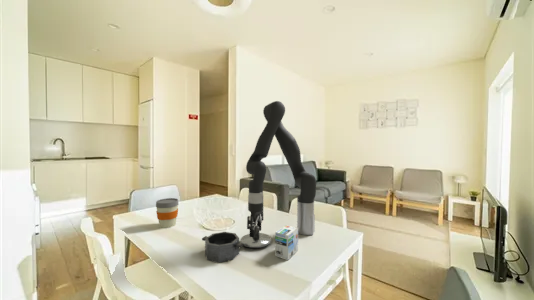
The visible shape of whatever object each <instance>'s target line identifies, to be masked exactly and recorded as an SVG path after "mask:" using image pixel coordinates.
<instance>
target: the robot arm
mask: <svg viewBox="0 0 534 300" xmlns="http://www.w3.org/2000/svg"><path fill="white" fill-rule="evenodd" d="M262 111H263V116H264V119H265V121H266V122H267V123H266V125H265V126H264V129H263V130H262V132H261V133H260V135H259V137H258V139H257V141H256V144H255V148H254V150H253V152H252V154H251V155H250V157H249V159H248V160H247V162H246V165H245V166H246V167H245V168H246V172H247V173H248V174H249V175H252V176H253V179H251V180H249V182H248V196H247V198H248V199H247V201H248V203H247V205H248V206H247V209H248V210H247V211H248V212H250V215H248V216H247V218H246V220H247V221H246V230H249V234H250V237H254V228H255V225H257V226H259V232H261V230H262V223H263V221H264V182H265V177H266V174H267V166H266V164H265V162H263V161H262V160H263V159H265V158H267V157H268V155H269V151H270V148H271V145H272V143H273V139H274V137H275V138H276V141H277V143H278V146H279V148H280V150H281V152H282V154H283V156H284V158H285V159H286V160H285V161H286V162H287V164H288V166H289V168H290V171H291V173H292V177H293V180H294V182H295V185H297V187H299V188H300V194H299V195H297V197H296V198H297V200H296V201H297V202H296V203H297V205H296V206H297V207H296V208H297V213H296V216H297V217H296V218H297V219H296V220H297V221H296V222H297V224H296V226H297V227H296V228H298V234H300V235H303V236H310V235H311V236H314V233H315V231H316V230H315V229H316V228H315V226H316V225H315V223H316V222H315V221H316V220H315V219H316V215H315V198H316V191H317V180H316V176H314V174H313V173H309V172H307V171H306V170H305V167H304V165H303V163H302V160H301V157H302V156H301V155H302V154H301V150H300V149H301V148H300V146H299V145H298V142H297V140H296V138H295V137H294V135H293V134H292V133H291V132H290V131H289V130H287V129H286V127H285V126H284V124H283V123H282V120H283V118H284V116H285V114H286V107H285V105H284V103H282V101H278V100H276V101H272V102H270V103H268V104H267V105H264V107H263V110H262Z"/></svg>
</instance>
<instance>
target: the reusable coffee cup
mask: <svg viewBox="0 0 534 300" xmlns="http://www.w3.org/2000/svg"><path fill="white" fill-rule="evenodd" d="M178 207H179V199H178V198H171V197H168V198H162V199H158V200H156V201H155V208H156V211H155V212H156V218H157V220H158V224H159V225H158V226H159V228H161V229H169V228H172V227H174V226H176V225H177V217H178V213H179V212H178V211H179V208H178Z"/></svg>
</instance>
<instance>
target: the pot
mask: <svg viewBox="0 0 534 300" xmlns="http://www.w3.org/2000/svg"><path fill="white" fill-rule="evenodd" d="M201 241H202V242H203V241H204V243H205V244H204V245H205V246H204V247H205V248H204V249H205V250H204V251H205V252H204V253H205V254H204V255H205V257H206V260H207V261H210V262H215V263H217V264H218V263H219V264H220V263H224V262H229V261H233V260H234V259H235V258H237V256H238V255H239V254H240V248H242V247H243V246H244V245H243V243H241V241H240V237H239V236H238V235H237V234H236V233H235V232H229V231H222V232H215V233H211V234H210V235H208V236H207V235H205V236H202V238H201Z"/></svg>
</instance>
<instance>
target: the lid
mask: <svg viewBox="0 0 534 300" xmlns="http://www.w3.org/2000/svg"><path fill="white" fill-rule="evenodd" d="M240 243H243V246H244V247H246V248H250V249H251V248H252V249H259V248H264V247H267V246H269V245H270V244H271V243H272V237H271V235H269V234H267V233H263V232H260V231H259V226H257V224H256V225H255V228H254V237H250V233H247V234H244V235H243V236H242V237H241V238H240Z"/></svg>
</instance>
